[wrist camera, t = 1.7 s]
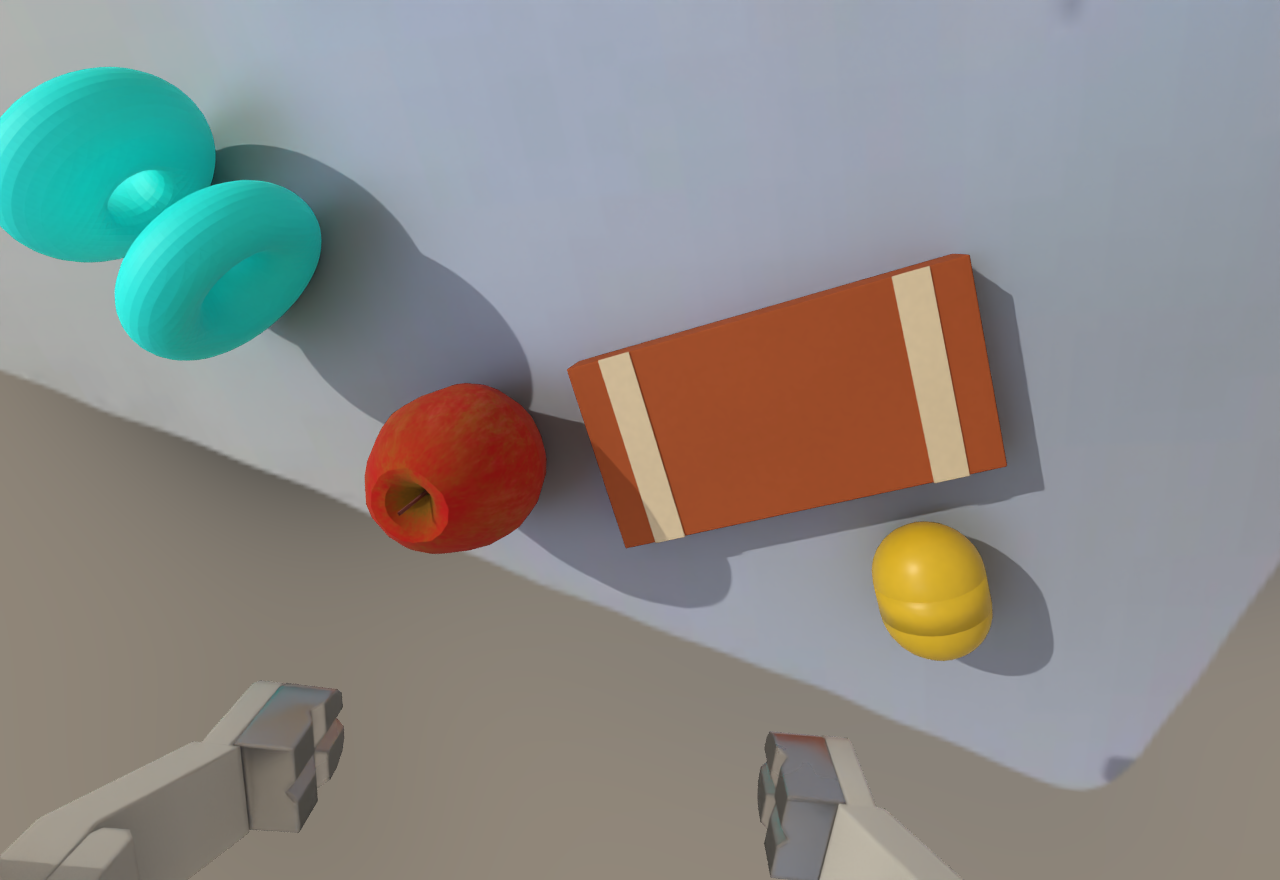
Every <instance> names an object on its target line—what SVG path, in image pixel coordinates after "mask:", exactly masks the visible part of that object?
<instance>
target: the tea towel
mask: <svg viewBox="0 0 1280 880" xmlns="http://www.w3.org/2000/svg"><path fill="white" fill-rule="evenodd" d="M567 372H568V375H569V378H570V381H571V384H572V387H573V390H574V393H575V396H576V399H577V402H578V405H579V408H580V411H581V414H582V417H583V420H584V423H585V426H586V429H587V432H588V435H589V438H590V441H591V444H592V447H593V450H594V453H595V456H596V459H597V463H598V466H599V469H600V472H601V475H602V478H603V481H604V484H605V487H606V490H607V493H608V496H609V499H610V502H611V505H612V508H613V511H614V514H615V517H616V520H617V523H618V526H619V529H620V532H621V535H622V538H623V541H624V544H625V547H626V548H630V547H634V546H639V545H644V544H648V543H653V542H656V543H659V542H663V541H668V540H673V539H677V538H682V537H685V536H686V535H690V534H695V533H699V532H704V531H709V530H713V529H718V528H723V527H727V526H732V525H737V524H741V523H746V522H751V521H755V520H760V519H765V518H769V517H774V516H779V515H783V514H788V513H792V512H797V511H802V510H806V509H811V508H816V507H820V506H825V505H830V504H834V503H839V502H844V501H848V500H853V499H858V498H862V497H867V496H871V495H876V494H881V493H885V492H890V491H895V490H899V489H904V488H909V487H913V486H918V485H923V484H927V483H932V482H934V483H938V482H943V481H947V480H952V479H957V478H961V477H966V476H970V474H974V473H978V472H983V471H988V470H992V469H997V468H1002V467H1006V466H1007V463H1006V457H1005V451H1004V446H1003V440H1002V434H1001V429H1000V423H999V418H998V412H997V406H996V401H995V395H994V389H993V384H992V378H991V373H990V367H989V361H988V356H987V350H986V345H985V339H984V333H983V328H982V322H981V316H980V311H979V305H978V300H977V294H976V288H975V283H974V277H973V272H972V266H971V260H970V255H965V254H950V255H947V256H943V257H940V258H936V259H933V260H929V261H926V262H922V263H919V264H916V265H912V266H909V267H905V268H902V269H898V270H895V271H891V272H888V273H884V274H881V275H877V276H874V277H870V278H867V279H863V280H860V281H856V282H853V283H849V284H846V285H842V286H839V287H835V288H832V289H829V290H825V291H822V292H818V293H815V294H811V295H808V296H804V297H801V298H797V299H794V300H790V301H787V302H783V303H780V304H776V305H773V306H769V307H766V308H762V309H759V310H755V311H752V312H749V313H745V314H742V315H738V316H735V317H731V318H728V319H724V320H721V321H717V322H714V323H710V324H707V325H703V326H700V327H696V328H693V329H689V330H686V331H682V332H679V333H675V334H672V335H669V336H665V337H662V338H658V339H655V340H651V341H648V342H644V343H641V344H637V345H634V346H630V347H627V348H623V349H620V350H616V351H613V352H609V353H606V354H602V355H599V356H595V357H592V358H589V359H585V360H582V361H579V362H577V363H576V364H574V365H573V366H571V367H570V368H569V369H567Z"/></svg>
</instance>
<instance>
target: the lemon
mask: <svg viewBox="0 0 1280 880" xmlns="http://www.w3.org/2000/svg"><path fill="white" fill-rule="evenodd" d="M872 577H873V584H874V588H875V593H876V597H877V601H878V605H879V609H880V614H881V617H882V620H883V623H884V625H885V627H886V628H887V630H888V632H889V633H890V635H891V636H892V637H893V638H894V639H895V640H896V641H897V642H898V643H899V644H900V645H901V646H902V647H903V648H905V649H906V650H908V651H909V652H911V653H913V654H914V655H917V656H919V657H922V658H926V659H930V660H937V661H946V660H953V659H957V658H960V657H962V656H965V655H967V654H969V653H971V652H972V651H974V650H975V649H976V648H977V647H978V646H979V645H980V644H981V643H982V642H983V640H984V639H985V638H986V636H987V634H988V632H989V629H990V627H991V622H992V617H993V615H992V601H991V596H990V591H989V585H988V580H987V575H986V570H985V566H984V563H983V560H982V558H981V556H980V554H979V552H978V551H977V549H976V547H975V546H974V545H973V544H972V543H971V542H970V541H969V540H968V539H967V538H966V537H965V536H964V535H963V534H961V533H960V532H958V531H957V530H955V529H953V528H951V527H948V526H946V525H943V524H940V523H935V522H914V523H910V524H907V525H904V526H901V527H899V528H897V529H895V530H894V531H892V532H891V533H890V534H889V535H888V536H887V537H885V538H884V540H883V541H882V542H881V544H880V545H879V547H878V548H877V550H876V553H875V556H874V559H873V564H872Z"/></svg>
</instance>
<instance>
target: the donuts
mask: <svg viewBox="0 0 1280 880" xmlns="http://www.w3.org/2000/svg"><path fill="white" fill-rule="evenodd" d="M215 162H216V153H215V145H214V139H213V135H212V132H211V130H210V127H209V125H208V123H207V121H206V119H205V117H204V115H203V114H202V112H201V111H200V110H199V108H198V107H197V106H196V104H195V103H194V102H193V101H192V100H191V99H190V98H189V97H188V96H187V95H186V94H184V93H183V92H182V91H181V90H180V89H178V88H177V87H175V86H174V85H172V84H170V83H169V82H167V81H165V80H163V79H161V78H159V77H157V76H154V75H152V74H149V73H145V72H141V71H137V70H133V69H128V68H120V67H98V68H90V69H83V70H79V71H74V72H70V73H67V74H64V75H61V76H58V77H55V78H53V79H51V80H49V81H47V82H44V83H42V84H41V85H39V86H37V87H35V88H34V89H32V90H30V91H29V92H27V93H26V94H25V95H23V96H22V97H21V98H20V99H18V100H17V101H16V102H15V103H14V104H12V105H11V106H10V108H9V109H8V110H7V111H6V112H5V113H4V114H3V115H2V116H1V117H0V226H1V227H2V228H3V229H4V230H5V231H6V232H7V233H8V234H9V235H11V236H12V237H13V238H14V239H15V240H17V241H18V242H20V243H21V244H23V245H25V246H27V247H28V248H30V249H32V250H34V251H36V252H38V253H41V254H44V255H47V256H50V257H53V258H56V259H61V260H67V261H75V262H102V261H110V260H116V259H121V258H124V259H123V262H122V264H121V267H120V270H119V273H118V276H117V280H116V285H115V304H116V311H117V314H118V317H119V320H120V322H121V325H122V327H123V328H124V330H125V331H126V332H127V334H128V335H129V336H130V338H131V339H132V340H133V341H134V342H136V343H137V344H138V345H139V346H140V347H142V348H143V349H145V350H147V351H149V352H151V353H153V354H155V355H157V356H160V357H163V358H167V359H172V360H200V359H206V358H210V357H214V356H217V355H220V354H223V353H226V352H228V351H231V350H233V349H235V348H237V347H239V346H241V345H243V344H245V343H246V342H248V341H250V340H252V339H253V338H255V337H256V336H258V335H259V334H261V333H262V332H263V331H265V330H266V329H267V328H269V327H270V326H271V325H272V324H274V323H275V322H276V321H277V320H278V319H279V318H280V317H281V316H282V315H283V314H284V313H285V312H286V311H287V310H288V309H289V308H290V307H291V306H292V305H293V304H294V303H295V301H296V300H297V299H298V298H299V296H300V295H301V294H302V292H303V291H304V289H305V288H306V286H307V285H308V283H309V281H310V280H311V278H312V276H313V274H314V272H315V270H316V267H317V264H318V261H319V258H320V253H321V241H322V240H321V231H320V227H319V224H318V221H317V218H316V216H315V214H314V213H313V211H312V210H311V208H310V207H309V206H308V204H307V203H306V202H305V201H304V200H302V199H301V198H300V197H299V196H298V195H297V194H295V193H293V192H292V191H290V190H288V189H286V188H285V187H282V186H279V185H276V184H273V183H270V182H265V181H256V180H237V181H231V182H225V183H220V184H216V185H212V186H210V185H211V182H212V179H213V175H214V170H215Z"/></svg>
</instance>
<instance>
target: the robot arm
mask: <svg viewBox="0 0 1280 880" xmlns="http://www.w3.org/2000/svg"><path fill="white" fill-rule="evenodd" d="M342 707H343V704H342V693H341V692H340V691H339V690H338V689H331V688H323V687H315V686H307V685H299V684H290V683H286V684H284V683H278V682H270V681H262V680H260V681H258V682H256V683H253V684H252V685H251V686H250V687H249V688H248V689H247V691H246V692H245V693H244V694H243V695H242V696H241V697H240V698H239V700H238V701H237V702H236V703H235V704H234V705H233V706H232V708H231V709H230V710H229V711H228V712H227V714H226V715H225V716H224V717H223V718H222V719H221V720H220V721H219V723H218V724H217V725H216V726H215V727H214V728H213V730H212V731H211V732H210V733H209V734H208V735H207V736H206V738H205V739H204V740H203V741H202V742H192V743H189V744H187V745H186V746H183V747H181V748H179V749H177V750H175V751H173V752H171V753H169V754H167V755H165V756H163V757H161V758H159V759H157V760H155V761H153V762H151V763H149V764H147V765H145V766H143V767H141V768H139V769H137V770H135V771H133V772H131V773H129V774H127V775H125V776H123V777H121V778H119V779H117V780H115V781H113V782H111V783H109V784H107V785H105V786H103V787H101V788H98V789H96V790H94V791H93V792H90V793H88V794H86V795H84V796H82V797H80V798H78V799H76V800H74V801H73V802H70V803H69V804H66V805H64V806H62V807H60V808H58V809H56V810H55V811H52V812H50V813H48V814H46V815H44V816H42V817H40V818H38V819H37V820H36V821H35V822H34V823H33V824H32V825H31V826H30V827H29V828H28V829H27V830H26V831H25V832H24V833H23V834H22V835H21V836H20V837H19V838H18V839H16V841H14V842H13V843H12V844H11V845H10V846H9V847H8V848H7V849H6V850H5V851H4V852H3V853H2V854H1V855H0V880H188V879H189V878H191V877H192V876H193V875H195V874H196V873H197V872H198V871H200V870H201V869H202V868H204V867H205V866H206V865H207V864H209V863H210V862H211V861H213V860H214V859H215V858H217V857H218V856H219V855H221V854H222V853H223V852H225V851H226V850H227V849H229V848H230V847H231V846H232V845H234V844H235V843H236V842H238V841H239V840H240V839H242V838H243V837H244V836H245V835H247V834H248V833H249V830H263V831H279V832H295V833H299V832H300V830H301V828H302V827H303V825H304V823H305V822H306V820H307V818H308V817H309V815H310V813H311V811H312V810H313V808H314V806H315V805H316V803H317V801H318V798H317V788H319V787H320V786H322V785H323V784H324V783H326V782H328V781H329V780H330V779H331V777H332V775H333V773H334V771H335V770H336V768H337V765H338V762H339V759H340V756H341V753H342V749H343V742H344V726H343V725H342V724H341V723H340V721H339V720H338V719H337V718H336V717H337V716H338V714H339V712H340V710H341V709H342ZM765 753H766V758H767V762H766V763H765V764H764V765H763V766H761V769H760V774H759V780H758V810H759V816H760V822H761V823H762V824H763V825H764V826H765V827H766V829H767V833H766V838H765V843H764V844H765V850H766V855H767V860H768V866H769V871H770V877H771V878H778V879H787V880H964V879H963V878H961V877H960V876H959V875H958V874H957V873H956V872H955V871H954V870H953V869H951V868H950V867H949V866H948V865H947V864H946V863H945V862H944V861H943V860H941V859H940V858H939V857H938V856H937V855H936V854H935V853H934V852H932V851H931V850H930V849H929V848H928V847H927V846H926V845H925V844H924V843H923V842H922V841H920V840H919V839H918V838H917V837H916V836H915V835H914V834H913V833H912V832H910V831H909V830H908V829H907V828H906V827H905V826H904V825H903V824H901V823H900V822H899V821H898V820H897V819H896V818H895V817H894V816H893V815H892V814H890V813H889V812H888V811H887V810H886V809H885V808H877V806H876V804H875V801H874V799H873V796H872V793H871V791H870V788H869V786H868V783H867V781H866V778H865V775H864V773H863V770H862V768H861V765H860V763H859V760H858V757H857V755H856V752H855V750H854V747H853V744H852V742H851V741H850V740H849V739H848V738H845V737H833V736H814V735H803V734H791V733H781V732H769V734H768V736H767V739H766V743H765Z"/></svg>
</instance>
